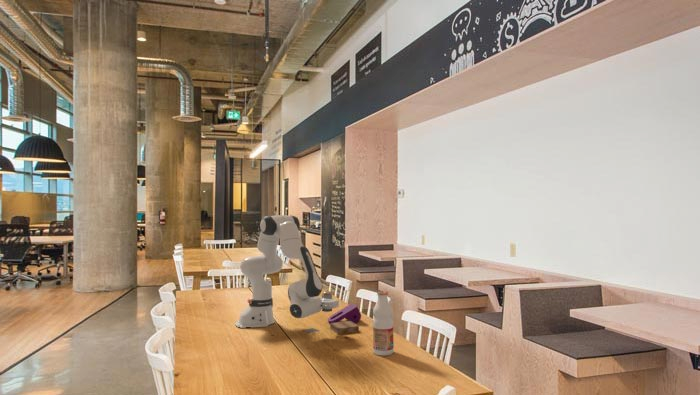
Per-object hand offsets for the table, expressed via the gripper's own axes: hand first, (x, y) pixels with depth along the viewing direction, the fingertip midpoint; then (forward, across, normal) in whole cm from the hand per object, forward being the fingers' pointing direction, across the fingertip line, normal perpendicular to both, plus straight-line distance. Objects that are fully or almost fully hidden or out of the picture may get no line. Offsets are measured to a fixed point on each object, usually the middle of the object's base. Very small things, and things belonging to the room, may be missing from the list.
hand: (327, 299), depth 245 cm
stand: (+6, -7, +17) cm, 19 cm away
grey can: (-1, 0, +6) cm, 6 cm away
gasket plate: (-3, +9, +18) cm, 20 cm away
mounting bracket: (+20, +2, +17) cm, 27 cm away
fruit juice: (-18, -42, +17) cm, 48 cm away
